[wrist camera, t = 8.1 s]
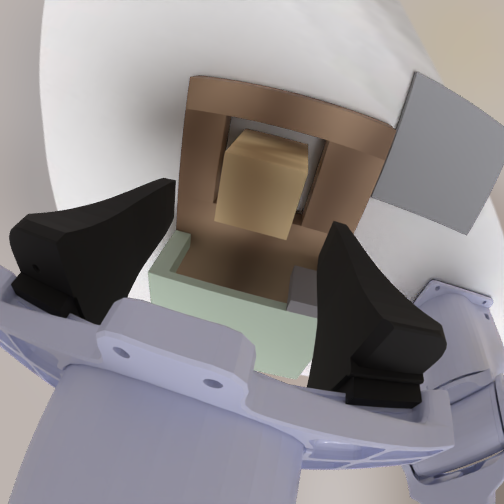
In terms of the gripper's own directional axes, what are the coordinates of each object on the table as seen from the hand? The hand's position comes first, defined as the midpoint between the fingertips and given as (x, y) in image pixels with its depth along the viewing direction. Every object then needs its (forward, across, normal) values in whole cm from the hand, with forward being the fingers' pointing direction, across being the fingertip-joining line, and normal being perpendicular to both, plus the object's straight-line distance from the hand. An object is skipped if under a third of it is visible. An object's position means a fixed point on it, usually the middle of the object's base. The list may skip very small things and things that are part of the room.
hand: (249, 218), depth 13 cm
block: (+7, 0, 0) cm, 7 cm away
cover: (+5, -1, +10) cm, 11 cm away
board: (+7, -1, +5) cm, 9 cm away
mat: (+7, -12, -4) cm, 14 cm away
